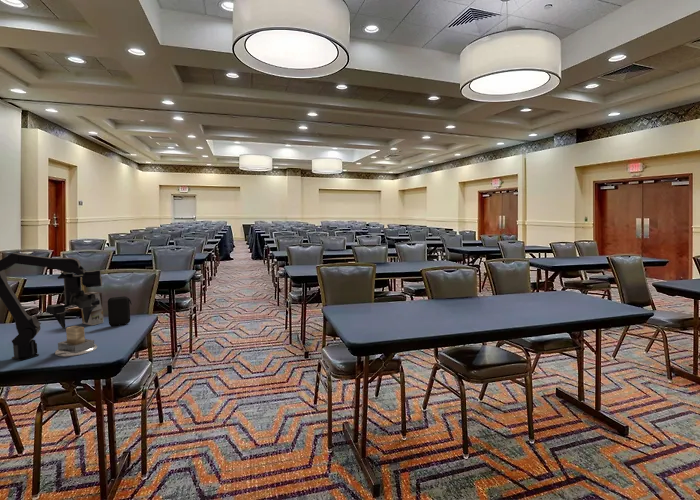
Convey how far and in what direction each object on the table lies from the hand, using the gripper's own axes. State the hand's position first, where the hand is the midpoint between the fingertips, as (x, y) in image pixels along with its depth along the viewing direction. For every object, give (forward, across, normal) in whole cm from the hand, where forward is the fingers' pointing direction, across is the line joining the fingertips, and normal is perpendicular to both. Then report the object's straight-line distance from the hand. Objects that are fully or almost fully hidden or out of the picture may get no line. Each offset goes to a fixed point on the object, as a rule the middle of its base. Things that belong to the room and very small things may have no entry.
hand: (75, 325), depth 168 cm
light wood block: (+10, 0, 0) cm, 10 cm away
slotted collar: (+10, 0, 0) cm, 11 cm away
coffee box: (+11, +32, +36) cm, 49 cm away
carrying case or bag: (+11, +35, +19) cm, 41 cm away
